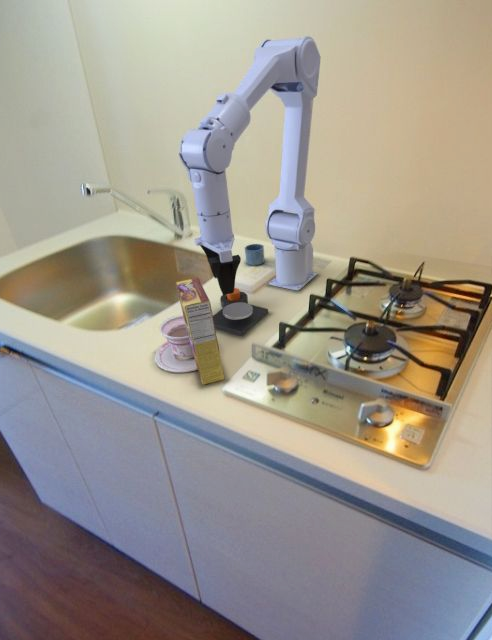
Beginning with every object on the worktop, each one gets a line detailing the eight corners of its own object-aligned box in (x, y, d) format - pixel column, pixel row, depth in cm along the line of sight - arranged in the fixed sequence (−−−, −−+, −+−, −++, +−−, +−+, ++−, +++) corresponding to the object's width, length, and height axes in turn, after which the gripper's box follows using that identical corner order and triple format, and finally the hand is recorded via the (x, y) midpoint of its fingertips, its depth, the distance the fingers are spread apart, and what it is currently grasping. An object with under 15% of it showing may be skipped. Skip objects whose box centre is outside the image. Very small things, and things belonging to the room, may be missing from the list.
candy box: (191, 358, 79) (174, 281, 69) (214, 353, 80) (200, 276, 70) (200, 386, 72) (183, 305, 62) (225, 380, 73) (211, 299, 63)
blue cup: (252, 257, 113) (251, 242, 111) (268, 260, 111) (267, 245, 108) (242, 264, 110) (240, 249, 108) (258, 267, 108) (257, 252, 105)
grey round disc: (234, 302, 88) (233, 299, 88) (258, 308, 86) (258, 305, 85) (217, 315, 84) (216, 313, 84) (242, 322, 82) (241, 319, 81)
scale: (232, 301, 95) (230, 288, 93) (271, 311, 91) (270, 298, 89) (200, 325, 88) (198, 312, 86) (242, 336, 83) (240, 323, 82)
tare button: (232, 294, 92) (231, 287, 91) (243, 297, 91) (242, 289, 90) (224, 300, 90) (223, 292, 89) (235, 302, 89) (234, 295, 88)
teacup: (231, 346, 81) (227, 317, 77) (193, 381, 74) (186, 351, 70) (182, 332, 86) (176, 304, 82) (141, 363, 79) (132, 335, 75)
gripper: (184, 203, 78) (196, 273, 87) (197, 227, 67) (210, 305, 76) (221, 197, 79) (230, 267, 88) (240, 220, 68) (248, 297, 77)
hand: (223, 284), depth 82 cm, fingers open, 7 cm apart
